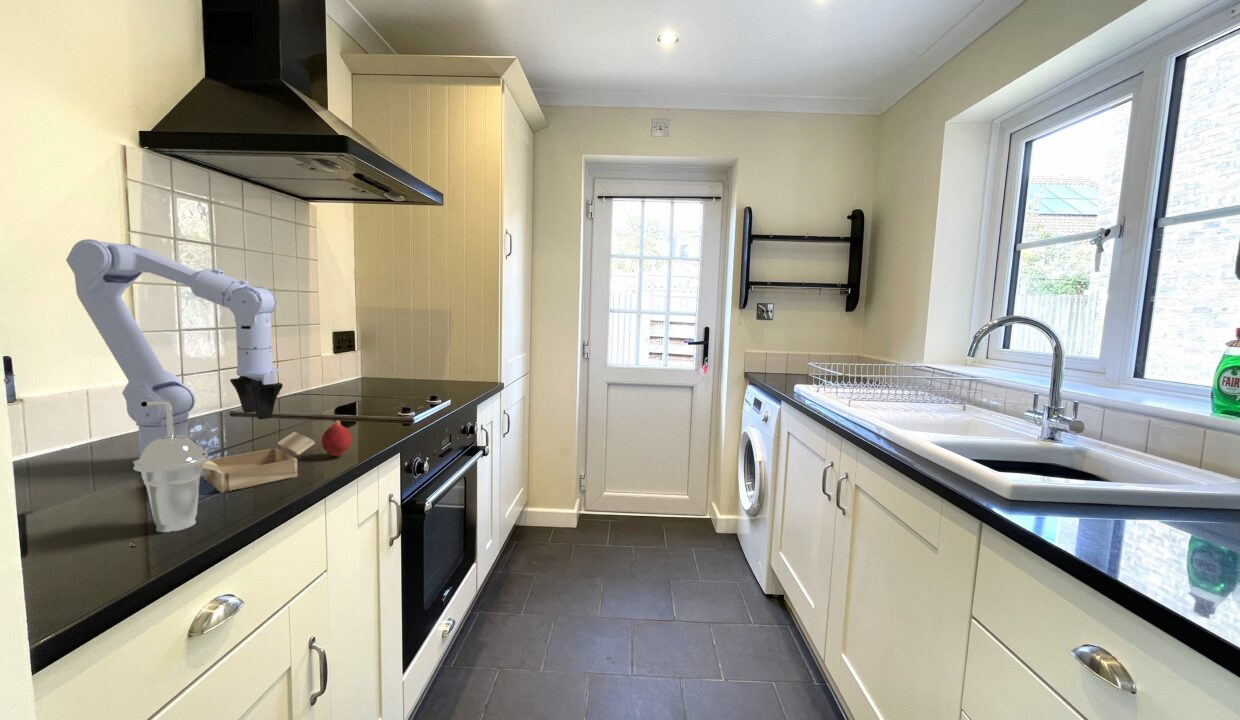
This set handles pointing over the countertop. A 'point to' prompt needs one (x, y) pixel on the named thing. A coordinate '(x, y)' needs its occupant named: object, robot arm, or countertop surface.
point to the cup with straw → (172, 476)
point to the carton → (251, 469)
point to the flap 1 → (210, 465)
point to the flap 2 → (296, 443)
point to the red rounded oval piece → (336, 439)
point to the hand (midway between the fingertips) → (257, 415)
